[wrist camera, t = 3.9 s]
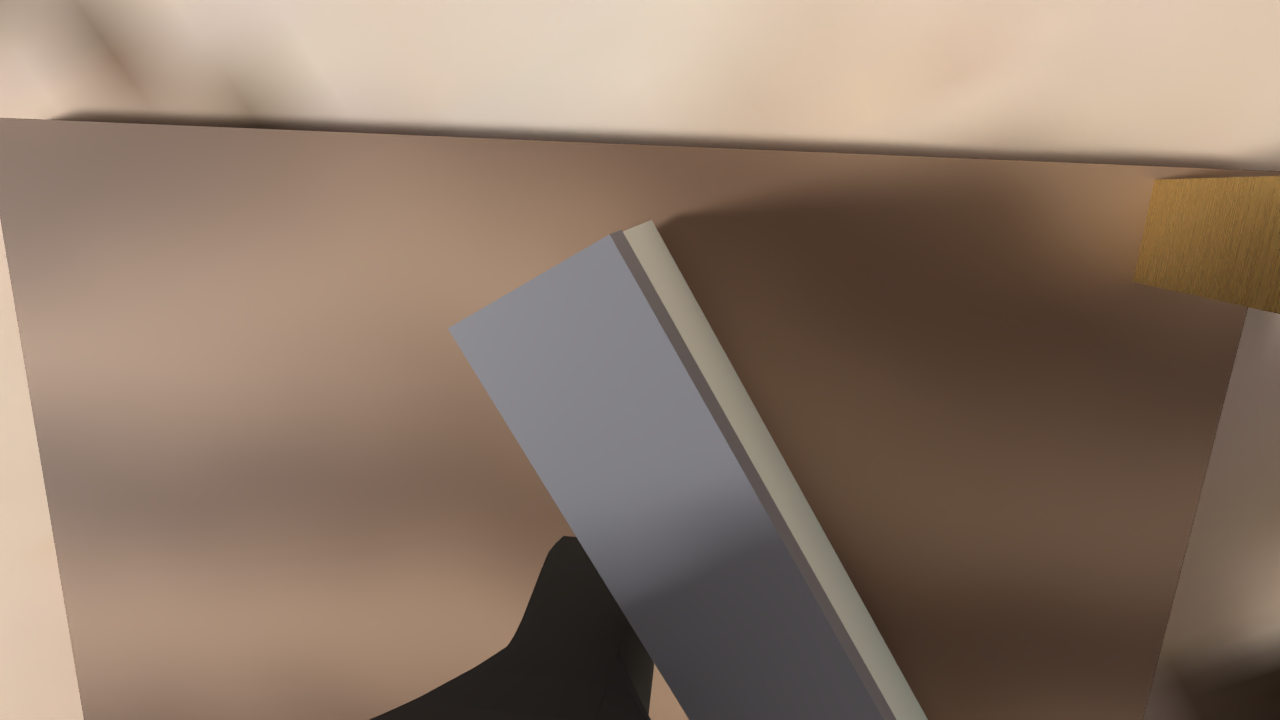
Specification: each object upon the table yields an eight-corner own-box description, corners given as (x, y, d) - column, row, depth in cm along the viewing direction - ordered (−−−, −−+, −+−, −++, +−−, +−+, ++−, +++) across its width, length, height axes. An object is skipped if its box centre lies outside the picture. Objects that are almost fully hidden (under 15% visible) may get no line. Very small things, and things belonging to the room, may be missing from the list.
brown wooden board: (1064, 886, 15) (1386, 1532, 8) (130, 758, 17) (-302, 1174, 10) (1235, 173, 12) (2113, 139, 4) (35, 122, 14) (-745, 42, 6)
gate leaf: (964, 769, 13) (1122, 1143, 8) (875, 800, 14) (971, 1177, 8) (660, 215, 12) (609, 233, 6) (567, 268, 12) (448, 328, 7)
